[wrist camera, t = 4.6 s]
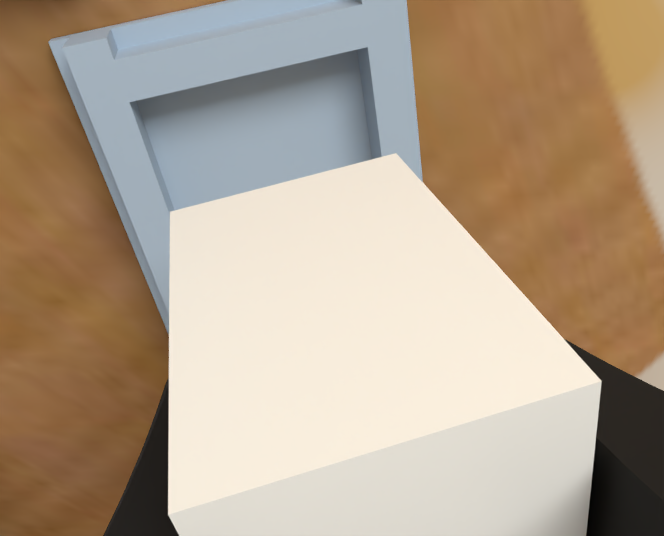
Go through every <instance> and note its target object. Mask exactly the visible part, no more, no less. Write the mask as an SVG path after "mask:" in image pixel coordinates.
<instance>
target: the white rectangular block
mask: <svg viewBox="0 0 664 536" xmlns="http://www.w3.org/2000/svg"><path fill="white" fill-rule="evenodd" d="M601 382H602V381H601V380H600V379H599V378H598V377H597V375H596V374H595V373H594V372H593V371H592V370H591V369H590V368H589V367H588V365H587V364H586V363H585V362H584V361H583V360H582V359H581V358H580V357H579V355H578V354H577V353H576V352H575V351H574V350H573V349H572V348H571V347H570V345H569V344H568V343H567V342H566V341H565V340H564V339H563V338H562V337H561V336H560V334H559V333H558V332H557V331H556V330H555V329H554V328H553V327H552V326H551V324H550V323H549V322H548V321H547V320H546V319H545V318H544V317H543V316H542V314H541V313H540V312H539V311H538V310H537V309H536V308H535V307H534V306H533V304H532V303H531V302H530V301H529V300H528V299H527V298H526V297H525V296H524V294H523V293H522V292H521V291H520V290H519V289H518V288H517V287H516V286H515V284H514V283H513V282H512V281H511V280H510V279H509V278H508V277H507V276H506V274H505V273H504V272H503V271H502V270H501V269H500V268H499V267H498V266H497V264H496V263H495V262H494V261H493V260H492V259H491V258H490V257H489V256H488V255H487V253H486V252H485V251H484V250H483V249H482V248H481V247H480V246H479V245H478V243H477V242H476V241H475V240H474V239H473V238H472V237H471V236H470V235H469V233H468V232H467V231H466V230H465V229H464V228H463V227H462V226H461V225H460V223H459V222H458V221H457V220H456V219H455V218H454V217H453V216H452V215H451V213H450V212H449V211H448V210H447V209H446V208H445V207H444V206H443V205H442V203H441V202H440V201H439V200H438V199H437V198H436V197H435V196H434V195H433V193H432V192H431V191H430V190H429V189H428V188H427V187H426V186H425V185H424V183H423V182H422V181H421V180H420V179H419V178H418V177H417V176H416V175H415V173H414V172H413V171H412V170H411V169H410V168H409V167H408V166H407V165H406V164H405V162H404V161H403V160H402V159H401V158H400V157H399V156H398V155H397V154H396V153H395V154H391V155H387V156H383V157H379V158H375V159H371V160H368V161H364V162H360V163H356V164H352V165H348V166H344V167H341V168H337V169H333V170H329V171H325V172H321V173H317V174H314V175H310V176H306V177H302V178H298V179H294V180H290V181H287V182H283V183H279V184H275V185H271V186H267V187H263V188H260V189H256V190H252V191H248V192H244V193H240V194H236V195H233V196H229V197H225V198H221V199H217V200H213V201H209V202H205V203H202V204H198V205H194V206H190V207H186V208H182V209H178V210H175V211H171V212H170V272H169V439H168V516H169V517H170V519H171V521H172V523H173V525H174V527H175V529H176V531H177V532H178V534H179V536H586V532H587V522H588V512H589V502H590V492H591V482H592V472H593V462H594V452H595V442H596V432H597V422H598V412H599V402H600V392H601Z"/></svg>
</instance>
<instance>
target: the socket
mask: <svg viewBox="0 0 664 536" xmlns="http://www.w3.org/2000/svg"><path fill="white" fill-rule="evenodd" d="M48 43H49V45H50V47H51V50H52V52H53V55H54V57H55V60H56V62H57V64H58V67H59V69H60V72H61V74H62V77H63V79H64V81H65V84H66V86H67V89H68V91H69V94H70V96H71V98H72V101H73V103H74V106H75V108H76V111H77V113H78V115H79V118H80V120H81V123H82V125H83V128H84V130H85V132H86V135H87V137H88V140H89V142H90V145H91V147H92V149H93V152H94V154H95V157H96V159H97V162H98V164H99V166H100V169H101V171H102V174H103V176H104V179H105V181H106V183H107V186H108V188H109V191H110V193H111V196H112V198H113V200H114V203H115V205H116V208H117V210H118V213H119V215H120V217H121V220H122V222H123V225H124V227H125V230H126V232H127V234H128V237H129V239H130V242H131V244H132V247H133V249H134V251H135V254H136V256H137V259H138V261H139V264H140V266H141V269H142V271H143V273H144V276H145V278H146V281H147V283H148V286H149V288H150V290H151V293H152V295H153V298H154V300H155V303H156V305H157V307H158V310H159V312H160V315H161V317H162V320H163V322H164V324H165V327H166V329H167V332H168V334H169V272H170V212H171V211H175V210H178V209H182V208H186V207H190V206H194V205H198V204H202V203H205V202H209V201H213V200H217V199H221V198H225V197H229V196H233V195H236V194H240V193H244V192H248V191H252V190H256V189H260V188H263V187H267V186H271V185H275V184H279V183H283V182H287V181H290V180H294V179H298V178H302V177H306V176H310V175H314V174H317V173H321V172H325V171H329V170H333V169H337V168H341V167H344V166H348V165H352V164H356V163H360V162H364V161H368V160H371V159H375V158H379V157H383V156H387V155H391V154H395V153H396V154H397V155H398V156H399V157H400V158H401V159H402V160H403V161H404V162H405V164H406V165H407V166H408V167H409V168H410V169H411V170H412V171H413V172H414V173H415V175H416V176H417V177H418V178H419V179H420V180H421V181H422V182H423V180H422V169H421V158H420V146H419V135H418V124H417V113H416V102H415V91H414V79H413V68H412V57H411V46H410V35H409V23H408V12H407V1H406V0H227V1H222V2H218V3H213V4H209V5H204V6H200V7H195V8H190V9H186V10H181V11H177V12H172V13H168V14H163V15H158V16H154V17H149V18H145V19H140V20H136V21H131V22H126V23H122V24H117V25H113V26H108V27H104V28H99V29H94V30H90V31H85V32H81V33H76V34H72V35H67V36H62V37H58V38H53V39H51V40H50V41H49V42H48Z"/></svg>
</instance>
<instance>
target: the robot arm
mask: <svg viewBox="0 0 664 536" xmlns="http://www.w3.org/2000/svg"><path fill="white" fill-rule="evenodd" d="M564 340H565V339H564ZM565 341H566V342H567V343H568V344H569V345H570V347H571V348H572V349H573V350H574V351H575V352H576V353H577V354H578V355H579V357H580V358H581V359H582V360H583V361H584V362H585V363H586V364H587V365H588V367H589V368H590V369H591V370H592V371H593V372H594V373H595V374H596V375H597V377H598V378H599V379H600V380H601V381H602V382H601V392H600V402H599V412H598V422H597V432H596V442H595V452H594V462H593V472H592V482H591V492H590V502H589V512H588V522H587V532H586V536H664V391H663V390H660V389H658V388H656V387H654V386H652V385H650V384H648V383H646V382H644V381H642V380H640V379H638V378H636V377H634V376H632V375H630V374H628V373H626V372H624V371H622V370H620V369H618V368H616V367H614V366H612V365H610V364H608V363H607V362H605V361H603V360H601V359H599V358H597V357H595V356H594V355H592V354H590V353H588V352H586V351H585V350H583V349H581V348H579V347H578V346H576V345H574V344H572V343H570V342H569V341H567V340H565ZM168 439H169V379H168V380H167V382H166V385H165V388H164V391H163V394H162V397H161V400H160V403H159V405H158V408H157V411H156V414H155V417H154V419H153V422H152V425H151V428H150V430H149V433H148V435H147V438H146V441H145V443H144V446H143V448H142V451H141V453H140V456H139V458H138V460H137V463H136V465H135V467H134V470H133V472H132V475H131V477H130V479H129V482H128V484H127V486H126V489H125V491H124V493H123V496H122V498H121V500H120V502H119V504H118V506H117V508H116V511H115V513H114V515H113V517H112V519H111V521H110V523H109V525H108V527H107V529H106V531H105V533H104V535H103V536H179V534H178V532H177V531H176V529H175V527H174V525H173V523H172V521H171V519H170V517H169V516H168Z"/></svg>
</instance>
